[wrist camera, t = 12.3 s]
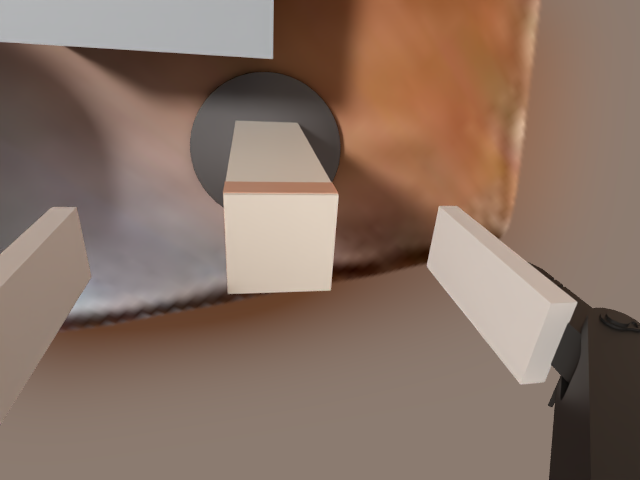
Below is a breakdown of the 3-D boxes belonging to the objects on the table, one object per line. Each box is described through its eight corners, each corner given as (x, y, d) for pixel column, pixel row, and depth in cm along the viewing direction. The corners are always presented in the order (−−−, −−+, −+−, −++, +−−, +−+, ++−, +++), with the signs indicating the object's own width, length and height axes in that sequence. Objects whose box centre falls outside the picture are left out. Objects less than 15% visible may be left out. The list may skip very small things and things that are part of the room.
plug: (237, 180, 28) (227, 294, 16) (235, 120, 26) (222, 194, 14) (295, 181, 29) (331, 290, 16) (297, 122, 27) (339, 194, 14)
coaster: (196, 218, 29) (195, 221, 29) (185, 67, 25) (184, 67, 24) (333, 218, 31) (334, 220, 30) (345, 76, 26) (346, 77, 26)
